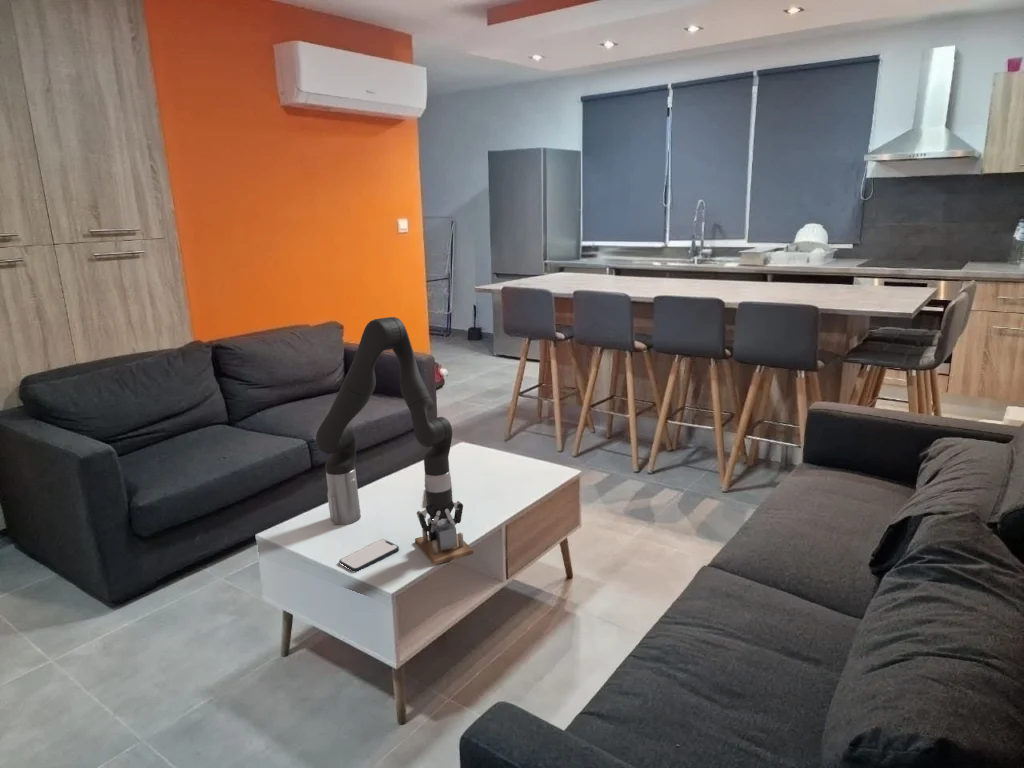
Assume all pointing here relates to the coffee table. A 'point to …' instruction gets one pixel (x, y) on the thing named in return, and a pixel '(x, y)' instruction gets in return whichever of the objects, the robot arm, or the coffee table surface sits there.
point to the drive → (445, 534)
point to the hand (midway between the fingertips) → (442, 539)
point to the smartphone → (369, 555)
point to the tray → (446, 555)
